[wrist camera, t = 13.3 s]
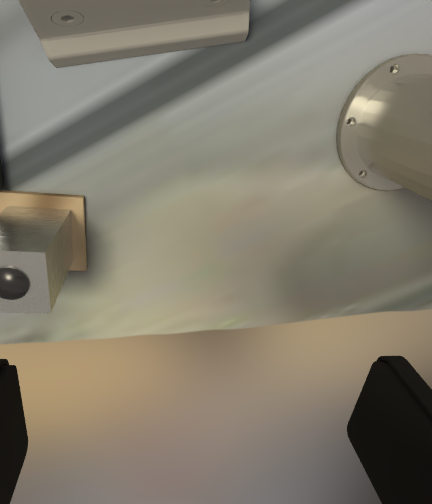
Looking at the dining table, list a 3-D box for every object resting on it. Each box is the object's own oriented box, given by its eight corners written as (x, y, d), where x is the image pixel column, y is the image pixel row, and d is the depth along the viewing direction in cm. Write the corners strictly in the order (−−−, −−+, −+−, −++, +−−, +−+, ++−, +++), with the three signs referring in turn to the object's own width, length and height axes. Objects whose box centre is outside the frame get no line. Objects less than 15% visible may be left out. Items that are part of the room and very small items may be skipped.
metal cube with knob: (70, 209, 35) (44, 253, 27) (73, 260, 37) (50, 314, 29) (8, 205, 34) (-39, 250, 26) (15, 257, 36) (-26, 313, 28)
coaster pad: (83, 195, 35) (82, 197, 35) (86, 268, 39) (85, 271, 38) (-7, 189, 34) (-10, 191, 33) (4, 265, 37) (2, 268, 37)
